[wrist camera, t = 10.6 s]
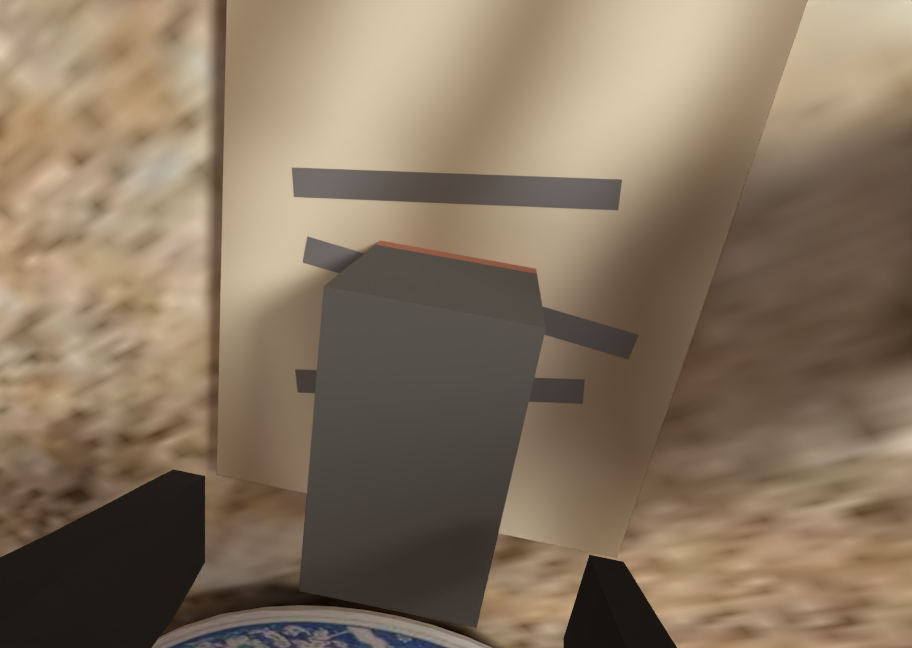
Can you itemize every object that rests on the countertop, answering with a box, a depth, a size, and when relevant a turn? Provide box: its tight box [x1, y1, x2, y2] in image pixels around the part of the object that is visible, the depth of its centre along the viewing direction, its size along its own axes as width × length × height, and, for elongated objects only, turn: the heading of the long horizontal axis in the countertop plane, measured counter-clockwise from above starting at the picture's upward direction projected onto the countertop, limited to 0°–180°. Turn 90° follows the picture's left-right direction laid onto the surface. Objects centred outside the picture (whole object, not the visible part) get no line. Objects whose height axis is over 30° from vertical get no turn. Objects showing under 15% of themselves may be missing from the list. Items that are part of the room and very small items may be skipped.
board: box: [217, 0, 808, 558], centre depth 16 cm, size 14×20×1 cm
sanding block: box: [299, 241, 546, 628], centre depth 15 cm, size 4×8×5 cm, turn 171°
